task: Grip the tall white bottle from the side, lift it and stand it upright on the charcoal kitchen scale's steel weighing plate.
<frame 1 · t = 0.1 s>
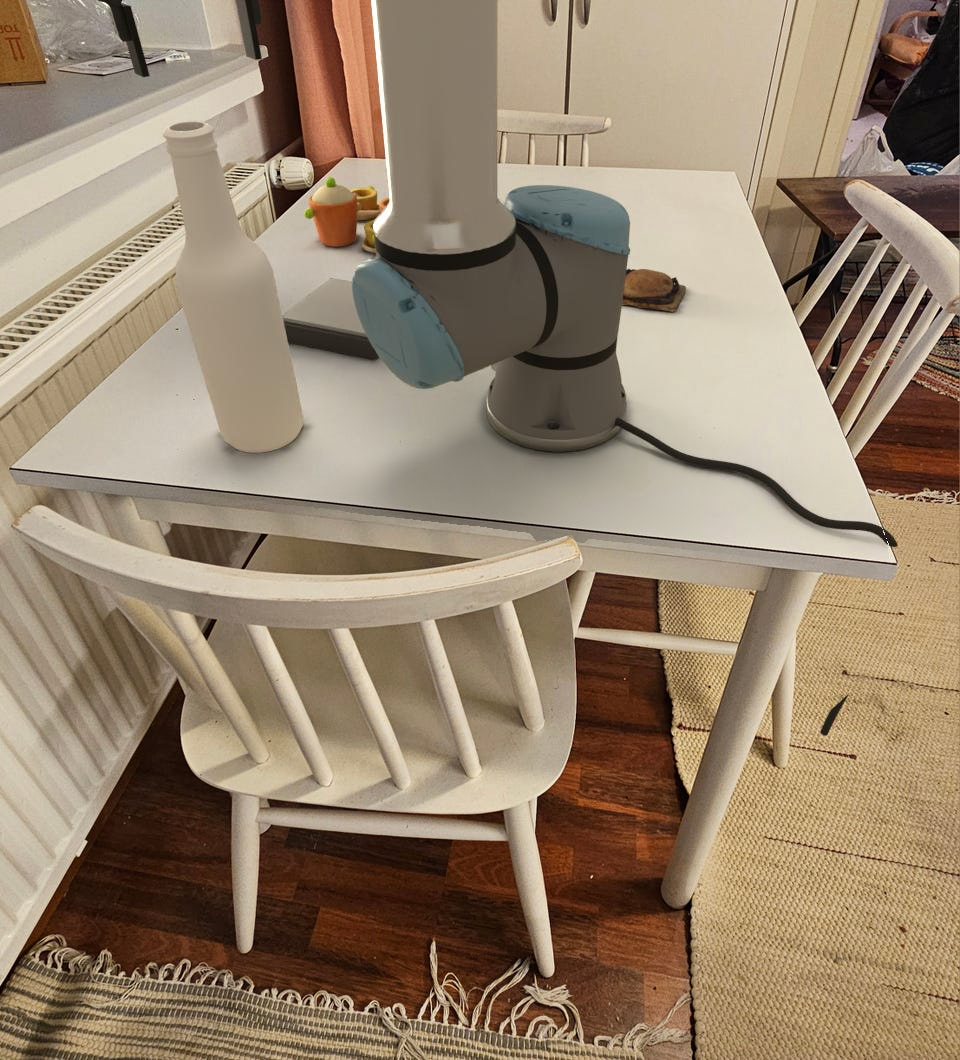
hand: (200, 66, 87), 28 cm above the table, tool pointing down, fingers open, 13 cm apart
toy tea set: (376, 227, 125), on the table
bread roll: (643, 297, 104), on the table
scale: (353, 325, 99), on the table
white bottle: (264, 432, 81), on the table
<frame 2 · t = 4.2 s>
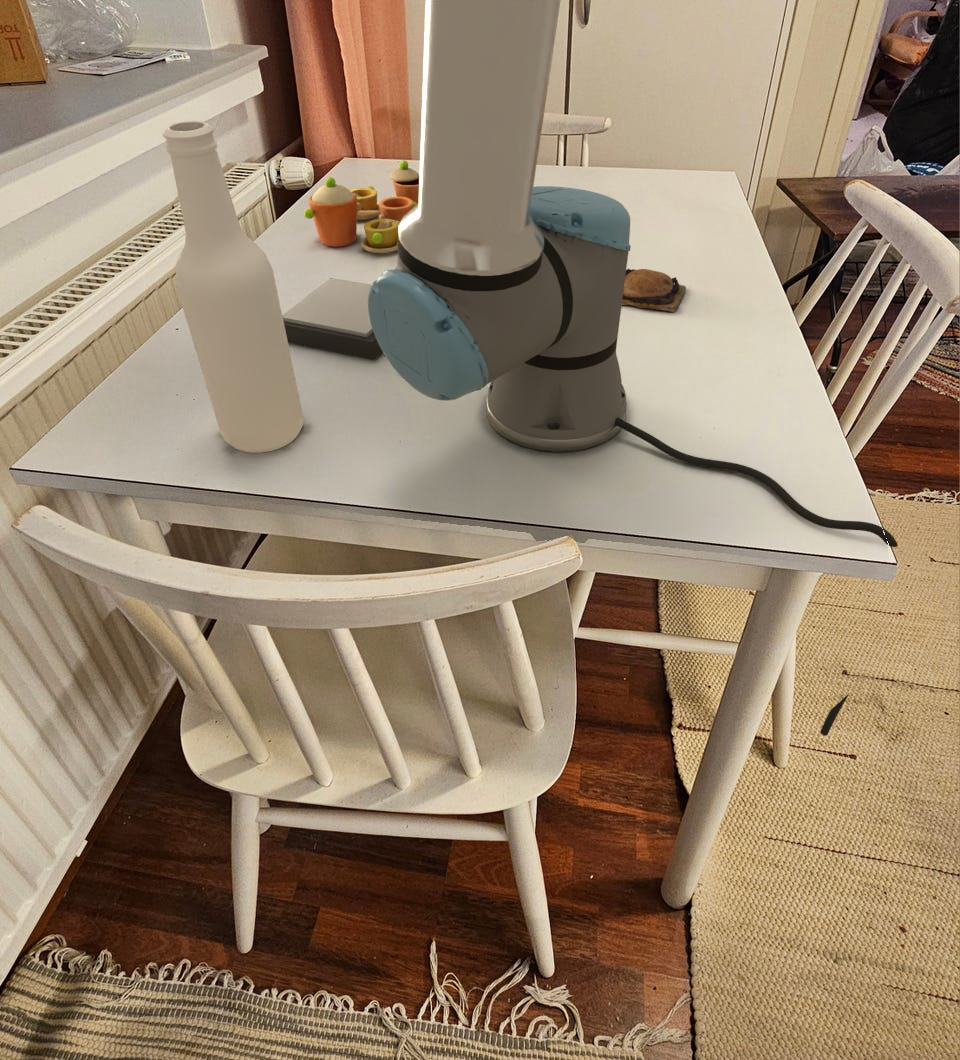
nothing on the table moved.
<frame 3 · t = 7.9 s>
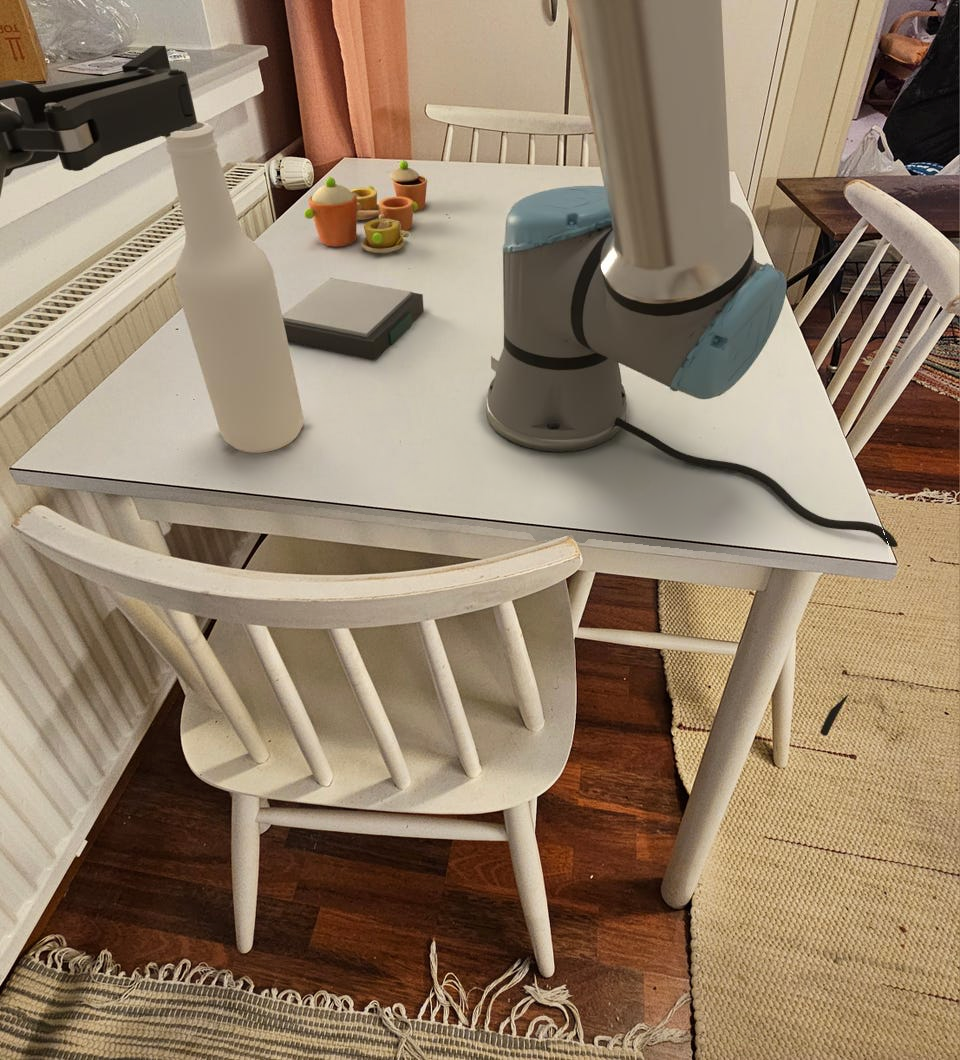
hand: (52, 72, 46), 37 cm above the table, tool horizontal, fingers open, 13 cm apart
nothing on the table moved.
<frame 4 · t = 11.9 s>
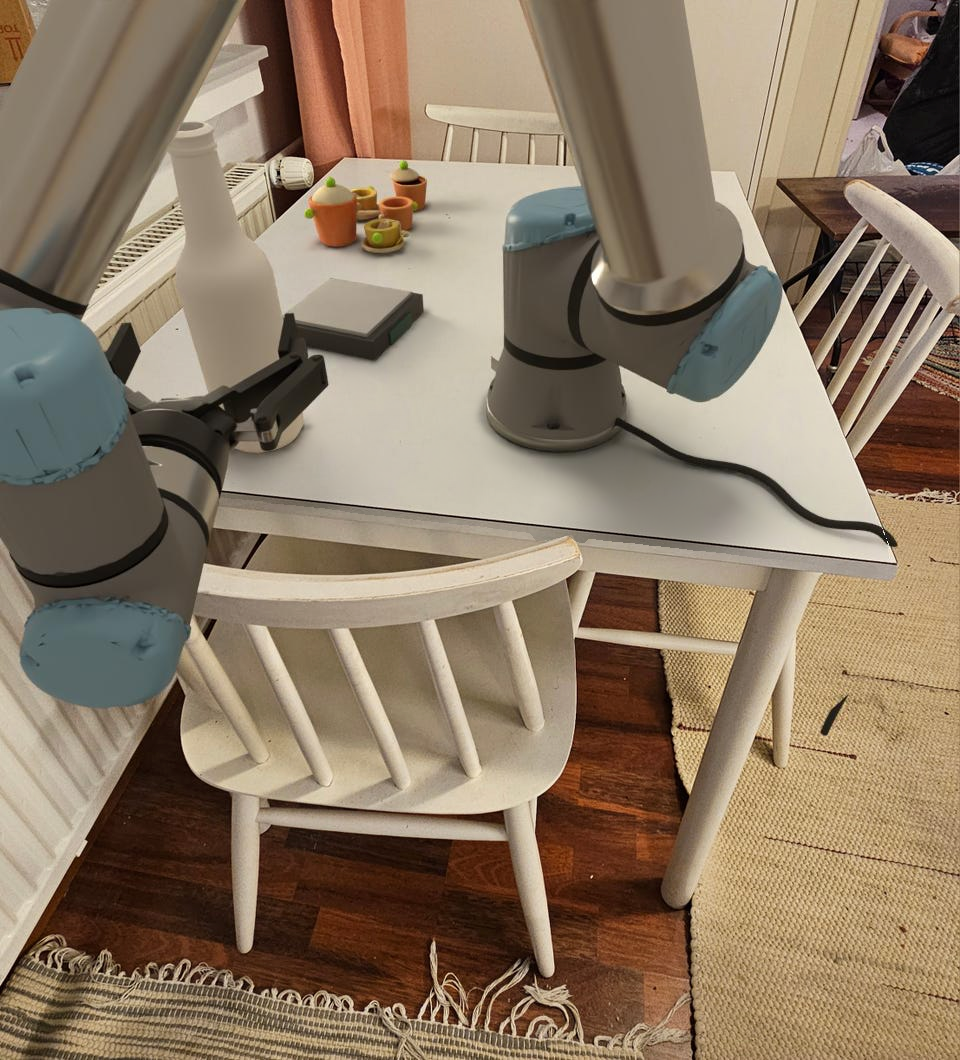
hand: (212, 332, 65), 16 cm above the table, tool horizontal, fingers open, 13 cm apart
nothing on the table moved.
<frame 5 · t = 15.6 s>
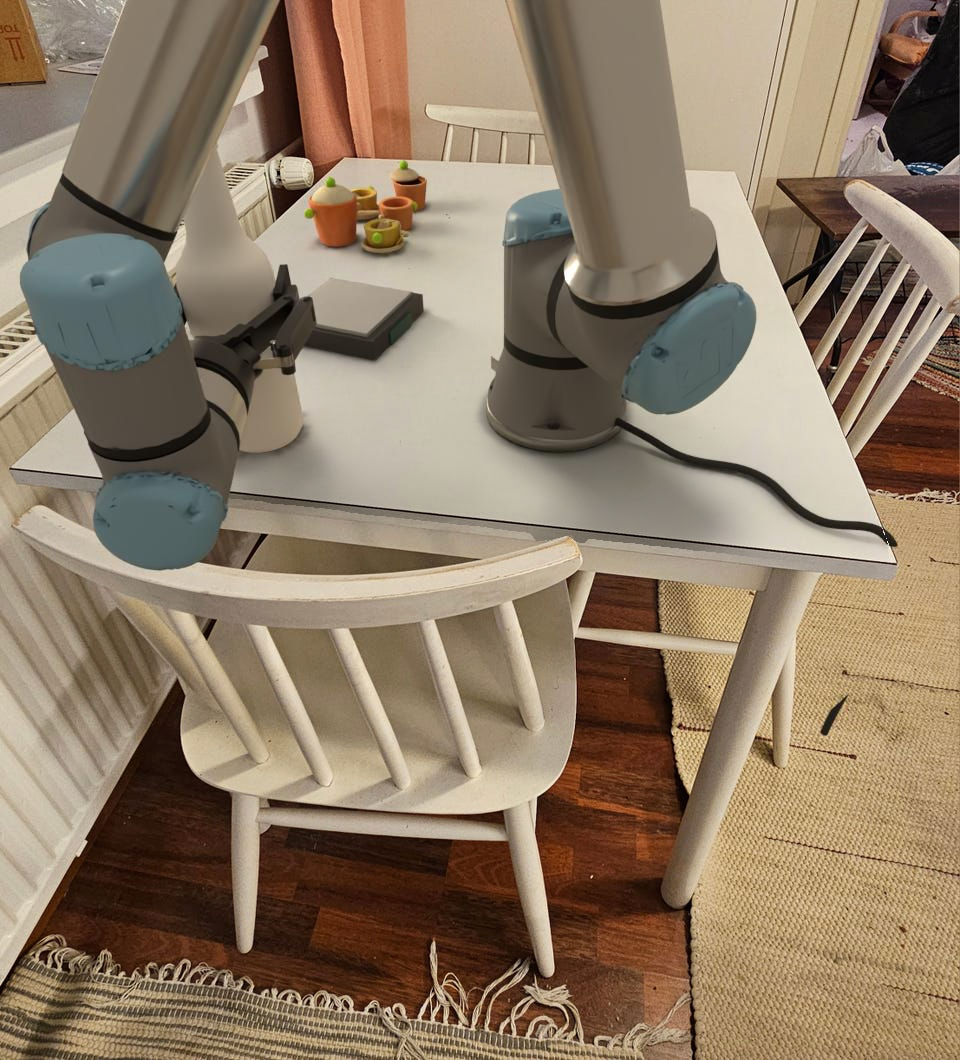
hand: (238, 280, 74), 15 cm above the table, tool horizontal, fingers closed on white bottle, 9 cm apart
white bottle: (264, 433, 81), on the table, touching gripper
everything else where it was.
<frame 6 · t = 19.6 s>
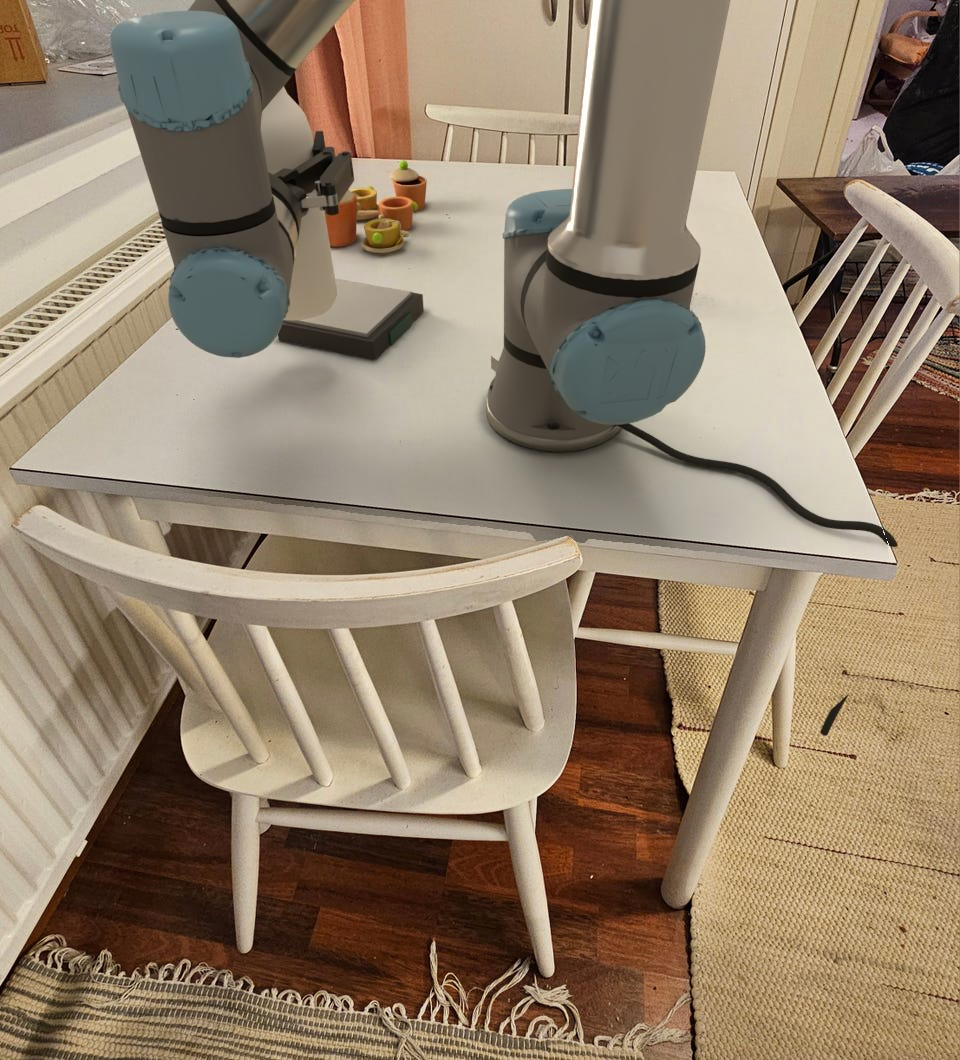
hand: (275, 147, 77), 24 cm above the table, tool horizontal, fingers closed on white bottle, 9 cm apart
white bottle: (299, 306, 84), point 9 cm above the table, touching gripper
everything else where it was.
when the fingers open (18 cm above the table, at t = 24.1 s): white bottle stays where it is, resting on scale.
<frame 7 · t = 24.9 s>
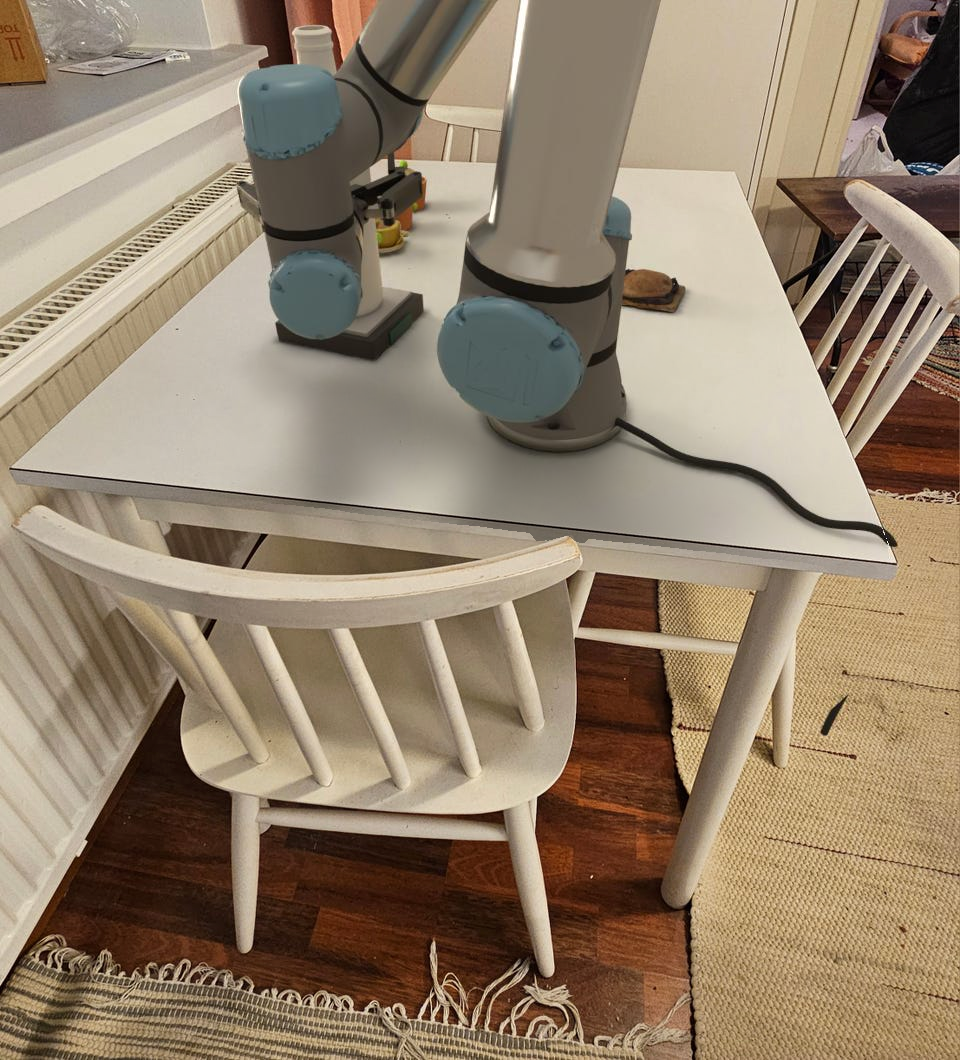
hand: (334, 167, 89), 19 cm above the table, tool horizontal, fingers open, 13 cm apart
white bottle: (350, 305, 97), point 3 cm above the table, touching scale
everything else where it was.
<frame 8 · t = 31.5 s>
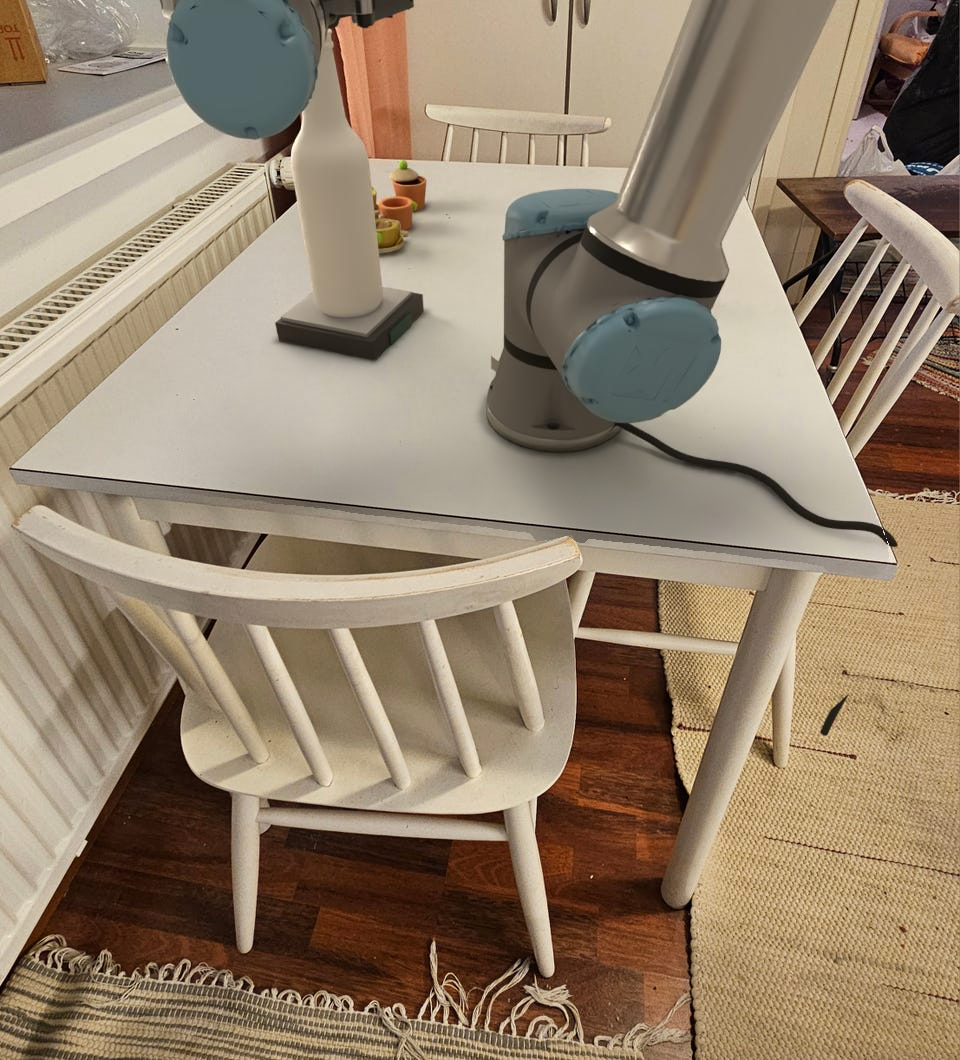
nothing on the table moved.
at the end: white bottle inside the target area on the scale (0.1 cm from its centre), point 2.8 cm above the scale's base; white bottle tilted 0°; the gripper is holding nothing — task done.
